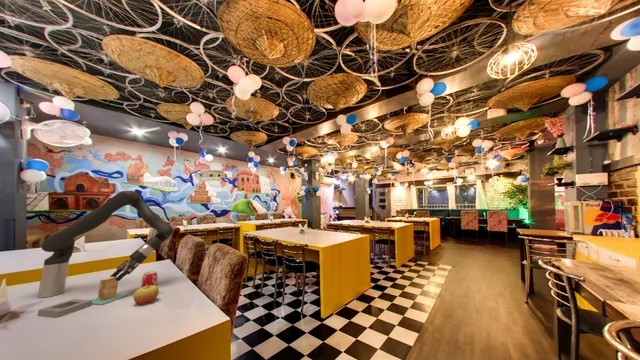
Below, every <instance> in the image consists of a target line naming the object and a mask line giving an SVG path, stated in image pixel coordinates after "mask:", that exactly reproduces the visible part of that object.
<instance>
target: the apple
mask: <svg viewBox="0 0 640 360" xmlns="http://www.w3.org/2000/svg"><path fill="white" fill-rule="evenodd" d="M159 292H160V291H159V288H158V285H157V286H145V287H142V288H141V287H139V288H138V289H137V290H136V291H135V292H134V295H133V301H134V302H135V304H137V305H147V304H150V303H151V302H154V300H156V299H157V297H158V296H159Z"/></svg>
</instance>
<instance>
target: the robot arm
mask: <svg viewBox="0 0 640 360" xmlns="http://www.w3.org/2000/svg"><path fill="white" fill-rule="evenodd" d="M126 206H131V207H133V208H134V209H135V210H136V211H137V212H138V213H139V215H140V217H141V219H142V220H143V221H144V222H145V223H146V224H147V225H148V226H149V227H150V228H152V229H154V230H156V231H157V234H155V235H154V236H152V237H150V238H149V239H148V240H147V241H146V242H144V244H142V245H140V246H139V247H138V248H137V249H136V250H135V251H134V252H132V253H131V254H130V255H129V260H128V259H125V261H123V262H122V263H121V264H120V265H119V266H117V267H116V270H115V271H114V272H113V273H112V274H111V275H110V276H109V277H117V278H116V280H117V281H118V282H120V281H121V280H122V279H124V277H126V276H127V275H130V274H131V273H133V272H134V271H135V270H136V269H137V268H138V266H140V265H141V264H142V263H144V262H145V260H147V259H148V258H149V257H150V256H152V254H153V253H154V252H155V250H157V249H158V248H159V247H160V246H161V244H163V243H164V242H165V241H167V240H168V239H169V238H170V237H171V236H172V235H173V233H174V228H173V226H171V225H170V224H169V223H168V222H166V221H164V220H163V219H162V218H161V217H160V216H159V215H158V214H156V213H155V212H154V211H153V210H152V209H151V208H150V206H148V204H147V203H146V202H145V201H144V199H143V198H142V197H141V195H140V194H139V193H138V192H137V191H134V190H122V191H119V192H118V193H116V194H115V195H113V196H112V197H110V199H108V200H107V201H106V202H104V203H103V204H101V205H100V206H98V207H96V208H95V209H93V210H92V211H90V212H88V213H87V214H86V215H84V216H82V217H81V218H79V219H77V220H76V221H74V222H73V223H71V224H70V225H68V226H67V227H65V228H63V229H62V230H60V231H58V232H56V233H54V234H52V235H50V236H49V237H47V238H46V239H44V241H43V242H42V243H41V250H42V251H44V252H46V253H52V254H51V255H50V256H49V257H47V258H45V260H44V262H43V267H42V271H41V272H42V273H41V277H40V282H39V287H38V292H37V297H38V298H41V299H43V298H48V297H49V298H50V297H54V296H58V295H61V294H63V293H64V292H65V290H66V284H67V277H68V272H69V271H68V269H69V264H70V259H71V257H72V256H73V253H74V248H75V243H76V242H75V241H76V240H75V238H77V237H78V236H81V235H84V234H86V233H88V232H91V231H93V230H95V229H96V228H99V227H100V226H102V224H103V225H104V223H105V222H107V221H108V220H109V218H110V217H112V214H114V213H115V212H116V211H118V210H120V209H122V208H123V207H126Z"/></svg>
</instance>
